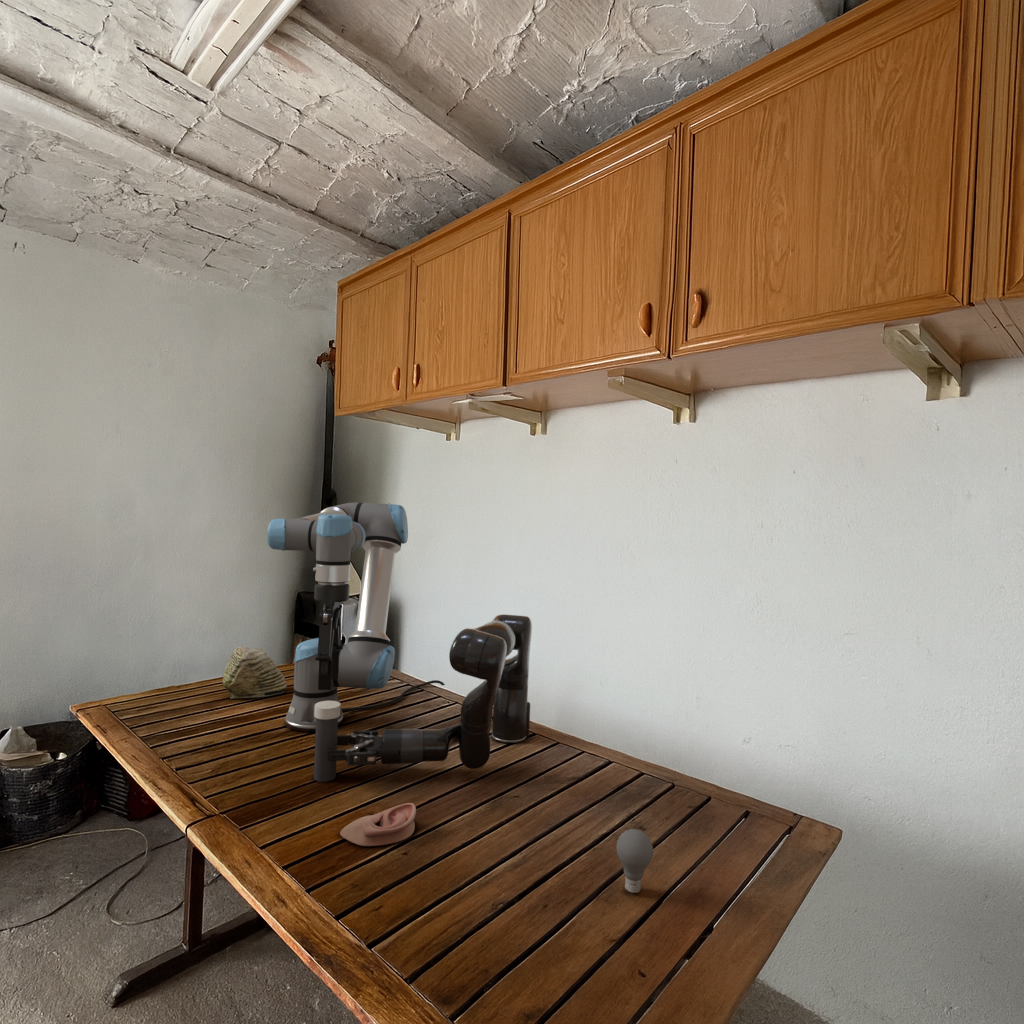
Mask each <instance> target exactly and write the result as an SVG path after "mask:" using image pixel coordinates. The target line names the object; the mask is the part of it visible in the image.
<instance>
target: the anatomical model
mask: <svg viewBox="0 0 1024 1024" xmlns="http://www.w3.org/2000/svg"><path fill="white" fill-rule="evenodd" d="M416 806H417V805H415V803H413V802H406V803H402V804H398V805H395V806H392V807H390V808H387V809H385V810H382V811H380V812H378V813H375V814H373V815H372V814H371V815H364V816H362V817H359V818H357V819H355V820H353V821H351V822H349V823H348V824H347V825H345V826H344V827H343V828H342V829H341V830H340V832H339V835H340V837H342V838H343V839H345V840H346V841H348V842H349V843H352V844H355V845H357V846H359V847H376V846H384V845H385V846H386V845H389V844H395V843H398V842H401V841H403V840H406V839H408V838H410V837H411V836H412V835H413V833H414V832H415V828H416V823H415V821H414V820H415V819H416V815H417V807H416Z"/></svg>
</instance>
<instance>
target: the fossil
mask: <svg viewBox="0 0 1024 1024" xmlns="http://www.w3.org/2000/svg"><path fill="white" fill-rule="evenodd" d="M222 676H223V677H222V685H223V687H224V688H225V690H226V691H228V693H229V698H230V699H250V698H264V697H271V696H275V695H281V694H284V693H285V691H286V689H287V687H288V686H287V680H286V678H285V676H284V674H283V673H282V672H281V669H279V668H278V667H277V665H276V663H275V662H274V660H273V659H272V658H271V657H270V656H269V655H268V654H267V653H266V652H265V650H264V649H263V648H260V647H258V648H251V647H247V646H246V647H245V646H238V647H237V648H236V649H235V650H233V651H232V653H231V656H230V657H229V659H228V660H227V663H226V666H225V668H224V671H223V675H222Z"/></svg>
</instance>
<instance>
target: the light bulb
mask: <svg viewBox="0 0 1024 1024" xmlns="http://www.w3.org/2000/svg"><path fill="white" fill-rule="evenodd" d="M615 849H616V854H617V857H618V859H619V861H620V863H621V865H622V867H623V873H624V874H623V875H624V876H625V878H624V888H625V890H627V891H628V892H630V893H634V894H635V893H639V892H640V891H641V889H642V887H641V886H642V879H643V877H644V875H645V871H646V868H647V867H648V866H649V864H650V863H651V861H652V859H653V855H654V847H653V843H652V841H651V838H649V836H648V835H647V834H646V833H645V832H643V831H642V830H641V829H636V828H629V829H627V830H625V831H623V832H622V833H621V834H620V835H619V837H618V839H617V841H616V847H615Z"/></svg>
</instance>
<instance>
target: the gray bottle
mask: <svg viewBox="0 0 1024 1024" xmlns="http://www.w3.org/2000/svg"><path fill="white" fill-rule="evenodd" d="M338 729H339V726H338V717H337V718H334V719H327V720H323V719H317V718H316V732H315V738H314V739H315V740H314V760H313V761H314V762H313V763H314V764H313V765H314V766H313V780H314V781H316V782H320V783H326V782H331V781H333V780H334V779H336V777H337V761H328V751H329V750H338V746H337V735H339V734H338V733H339V730H338Z"/></svg>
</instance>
